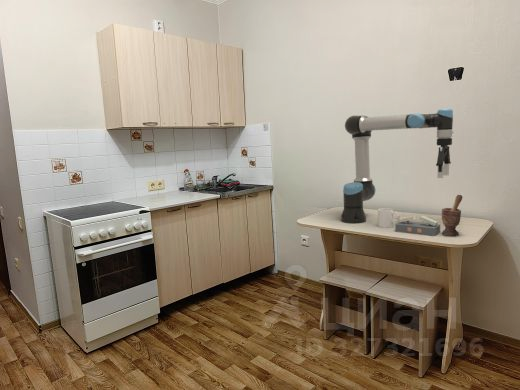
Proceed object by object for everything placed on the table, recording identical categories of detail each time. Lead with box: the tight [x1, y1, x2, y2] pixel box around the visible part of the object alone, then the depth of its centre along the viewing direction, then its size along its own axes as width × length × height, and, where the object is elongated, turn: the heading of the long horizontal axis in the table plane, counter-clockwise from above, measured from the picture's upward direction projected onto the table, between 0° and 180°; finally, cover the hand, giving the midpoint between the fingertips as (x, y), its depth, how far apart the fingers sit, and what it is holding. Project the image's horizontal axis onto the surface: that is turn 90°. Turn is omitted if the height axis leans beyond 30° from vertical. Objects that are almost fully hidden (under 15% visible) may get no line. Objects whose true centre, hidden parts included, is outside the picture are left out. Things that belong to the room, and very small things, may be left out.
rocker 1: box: [397, 214, 417, 222], centre depth 198 cm, size 8×4×2 cm, turn 50°
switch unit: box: [394, 220, 441, 237], centre depth 195 cm, size 20×10×5 cm, turn 50°
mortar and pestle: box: [441, 194, 463, 237], centre depth 186 cm, size 12×9×20 cm
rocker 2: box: [419, 215, 439, 226], centre depth 191 cm, size 8×4×2 cm, turn 51°
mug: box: [377, 207, 400, 229], centre depth 208 cm, size 8×12×10 cm, turn 49°
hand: (443, 176), depth 202 cm, fingers open, 13 cm apart
